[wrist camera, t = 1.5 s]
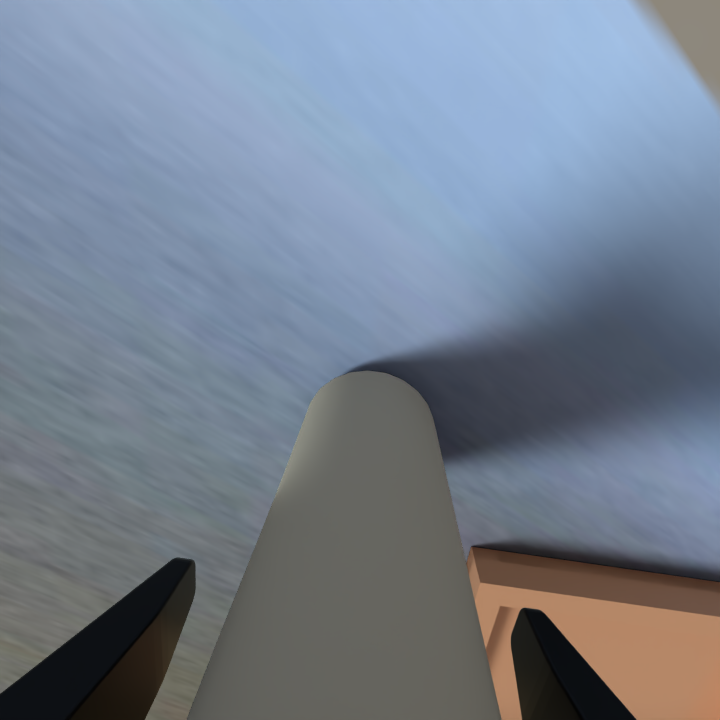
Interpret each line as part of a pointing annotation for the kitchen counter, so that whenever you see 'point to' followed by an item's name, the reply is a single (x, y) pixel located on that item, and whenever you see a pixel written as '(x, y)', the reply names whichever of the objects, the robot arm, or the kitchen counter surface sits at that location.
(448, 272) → the kitchen counter surface
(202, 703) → the beverage can
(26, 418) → the kitchen counter surface
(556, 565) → the tray
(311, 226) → the kitchen counter surface
